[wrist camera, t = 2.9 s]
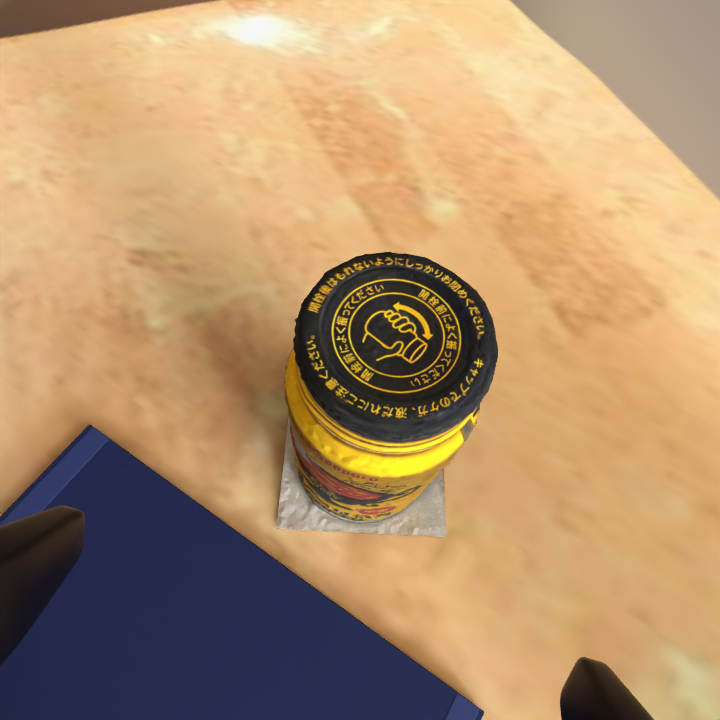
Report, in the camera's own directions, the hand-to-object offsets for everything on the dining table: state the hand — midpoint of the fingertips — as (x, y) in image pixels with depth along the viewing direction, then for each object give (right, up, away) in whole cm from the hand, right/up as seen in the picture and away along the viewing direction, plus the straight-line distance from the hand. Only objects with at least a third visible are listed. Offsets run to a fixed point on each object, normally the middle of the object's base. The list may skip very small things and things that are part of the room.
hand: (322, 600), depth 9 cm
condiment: (+1, 0, +15) cm, 15 cm away
